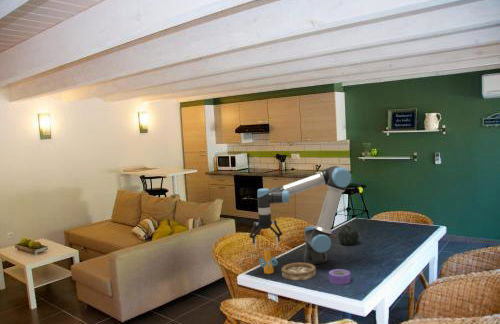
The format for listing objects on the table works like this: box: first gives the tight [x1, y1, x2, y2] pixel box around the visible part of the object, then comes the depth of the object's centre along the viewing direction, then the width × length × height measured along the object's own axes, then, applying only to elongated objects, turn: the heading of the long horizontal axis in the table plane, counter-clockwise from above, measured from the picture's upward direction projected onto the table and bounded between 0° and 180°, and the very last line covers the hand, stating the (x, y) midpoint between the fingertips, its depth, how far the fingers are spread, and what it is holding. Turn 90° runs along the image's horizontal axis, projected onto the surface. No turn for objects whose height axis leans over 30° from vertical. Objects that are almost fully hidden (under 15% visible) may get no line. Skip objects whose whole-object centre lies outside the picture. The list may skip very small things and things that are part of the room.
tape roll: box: [328, 268, 351, 286], centre depth 236 cm, size 12×12×5 cm
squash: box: [337, 224, 360, 246], centre depth 307 cm, size 14×15×15 cm
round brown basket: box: [281, 262, 317, 281], centre depth 251 cm, size 20×20×4 cm
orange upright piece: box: [258, 247, 278, 275], centre depth 258 cm, size 12×10×15 cm
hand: (266, 247), depth 258 cm, fingers open, 13 cm apart
